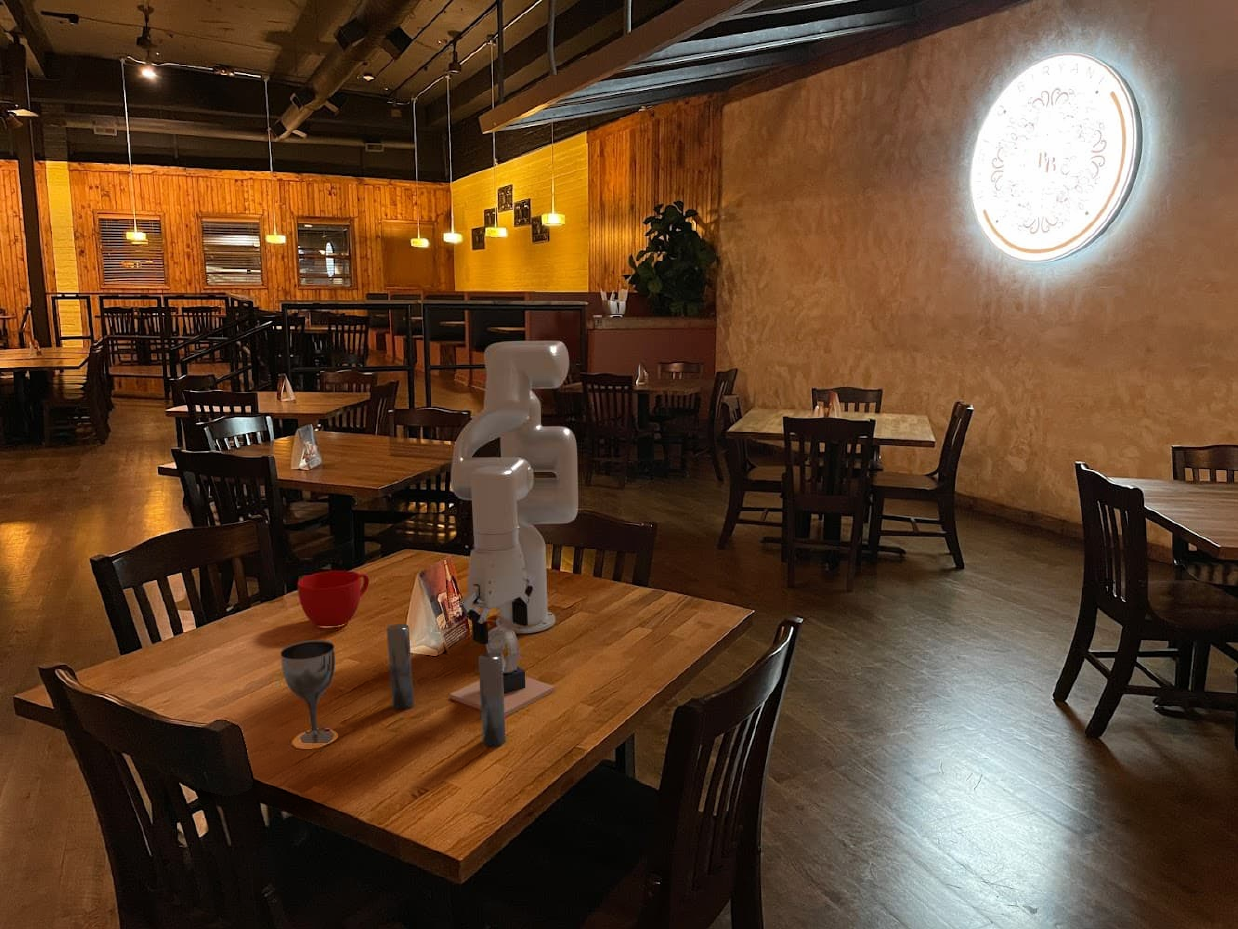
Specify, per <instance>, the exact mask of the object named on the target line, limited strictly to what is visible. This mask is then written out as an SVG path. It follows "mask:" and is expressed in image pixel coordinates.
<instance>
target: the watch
mask: <svg viewBox="0 0 1238 929" xmlns="http://www.w3.org/2000/svg"><path fill="white" fill-rule="evenodd" d="M505 647H507V653H508V654H507V656H506V660H505V658H504V654H503V650H505ZM485 648H486V651H487V652H486V653H499V654H501V655H502V665H503V688H504V694H505V693H509V692H512V691H516V690H519V689H522V688H526V687H525V677H526V671H525V670H524V669H523V668H521V667H519V663H520V660H521V654H520V646H519V642H518V638H517V635H516V633H514V631H513V630H512V629H511V628H510V627H509V626H507V627H506V626H499V627H497V626H496V627H493V628H492V629H490V630H488V644H486V645H485Z"/></svg>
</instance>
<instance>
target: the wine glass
mask: <svg viewBox="0 0 1238 929" xmlns="http://www.w3.org/2000/svg"><path fill="white" fill-rule="evenodd" d="M280 661H281V662H280V663H281V670H282V673H283V677H284V680H285V683H286V685H287V686H288V688H289V690H290V691H291V692H293V693H294V694H295V695H297V696H298V697H299V698H300V699H302V700H303V701H304V702H305V704H306V706H307V708H308V712H309V716H310V717H309V718H310V722H311V729H312V730H311V731H309V732H306V733H305V734H303V735H302V736H301V737H300V738H301V741H302V743H313V744H314V743H328V742H330V741H331V740H332V739H333V737H334V734H333V732H331V731H330V729H325V728H326V727H318V725H317V723H318V722H317V709H318V703H319V701H320V698H321V697H322V695H324V693H325V692H326V690H327V689H328V688H329V686H330V685H331V684H332V682H333V679H334V677H335V676H334V674H335V669H336V651H335V644H334V643H333V642H331V641H329V640H324V639H311V640H303V641H299V642H295V643H291V644H289V645H287V646H285V647H284V648H283V649H281V652H280ZM317 728H319V729H317Z"/></svg>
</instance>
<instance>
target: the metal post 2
mask: <svg viewBox="0 0 1238 929" xmlns="http://www.w3.org/2000/svg"><path fill="white" fill-rule="evenodd" d="M501 654H502V653H501ZM501 654H499V653H488V652H485V653H482V654H480V655H479V656H478V673H479V674H478V676H479V678H478V679H479V680H480V698H481V710H480V715H481V732H482V733H481V738H482V744H483V746H485V747H488V748H495V747H496V748H497V747H501V746H503V745H504V744H505V743H506V742H507V740H506V739H507V738H506V737H507V736H506V735H507V734H506V717H505V711H504V688H503V665H502V659H503V658H502V655H501ZM502 744H503V745H502Z"/></svg>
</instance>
